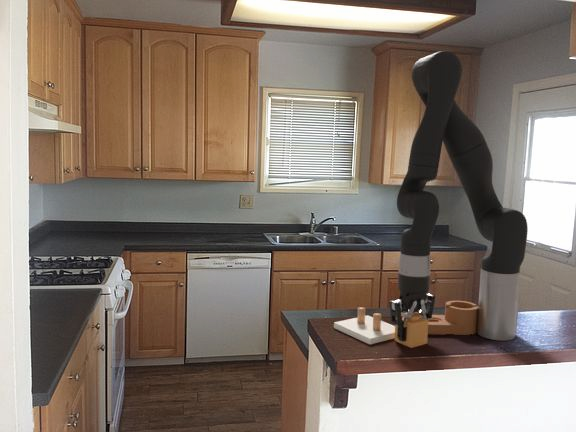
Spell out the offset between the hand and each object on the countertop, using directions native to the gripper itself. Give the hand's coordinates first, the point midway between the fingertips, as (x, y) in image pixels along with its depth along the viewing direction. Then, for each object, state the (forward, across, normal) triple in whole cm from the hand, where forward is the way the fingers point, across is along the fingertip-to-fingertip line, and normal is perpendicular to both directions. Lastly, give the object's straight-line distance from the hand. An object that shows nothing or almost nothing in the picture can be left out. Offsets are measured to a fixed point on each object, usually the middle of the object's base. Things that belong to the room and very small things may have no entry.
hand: (410, 337), depth 128 cm
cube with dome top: (+1, 0, 0) cm, 1 cm away
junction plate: (+1, -4, +11) cm, 12 cm away
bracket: (+1, +15, +2) cm, 15 cm away
